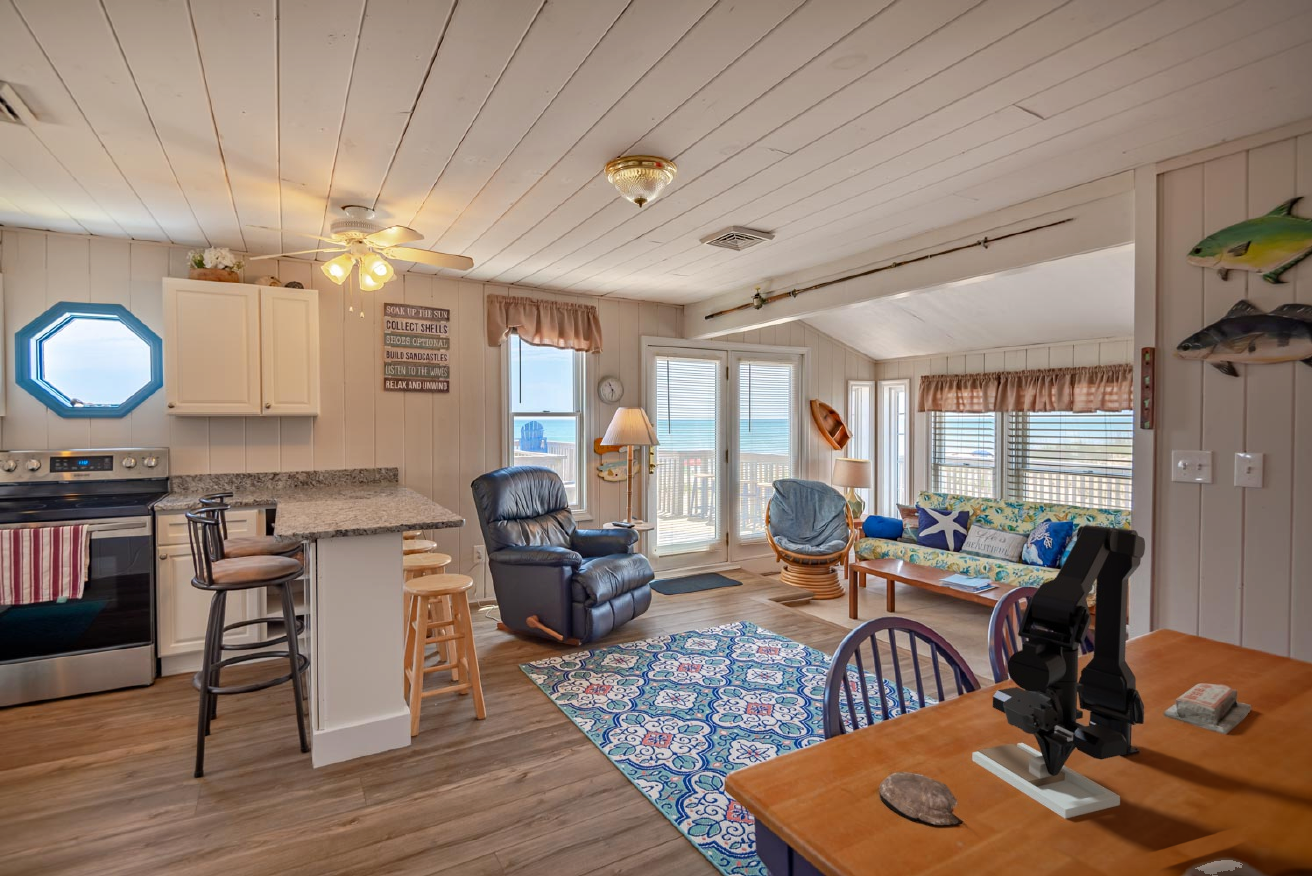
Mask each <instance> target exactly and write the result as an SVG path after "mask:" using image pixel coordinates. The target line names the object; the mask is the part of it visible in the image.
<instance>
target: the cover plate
mask: <svg viewBox="0 0 1312 876" xmlns="http://www.w3.org/2000/svg"><path fill="white" fill-rule="evenodd" d="M977 751H978V752H980V753H982V754H983V755H985V756H987V757H988V758H990V759H992V760H993V761H995V762H996V763H998V764H1000V765H1001V766H1003V767H1005V768H1006V769H1008V770H1010V771H1011V772H1013V773H1015V774H1016V775H1018V776H1020V777H1021V778H1023V779H1025V780H1026V781H1028V782H1029V783H1031V784H1033V785H1034V786H1036V787H1038V786H1042V785H1047V784H1051V783H1055V782H1060V781H1064V780H1065V773H1064V772H1063V771H1061V770H1060V772H1059V773H1058V775H1056V776H1052V775H1050V774H1049V773H1048V770H1047V767H1046V764H1045V761H1044V758H1043V756H1038V757H1035V756H1034V755H1032V754H1030V753H1028V752H1026V751H1025V750H1023V749H1021V748H1019V747H1017V744H1016V745H1015V744H1013V743H1007V744H1002V745H997V746H992V747H987V748H982V749H978V750H977Z"/></svg>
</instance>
